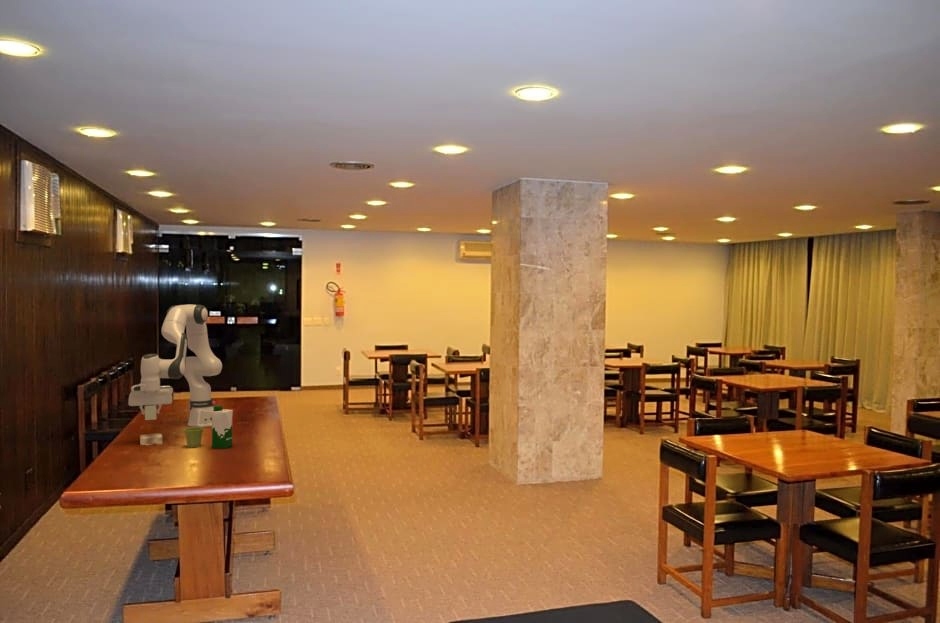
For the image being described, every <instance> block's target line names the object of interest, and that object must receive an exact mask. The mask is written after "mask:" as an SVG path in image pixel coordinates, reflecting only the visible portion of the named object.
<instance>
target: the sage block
mask: <svg viewBox="0 0 940 623" xmlns="http://www.w3.org/2000/svg"><path fill="white" fill-rule="evenodd" d="M144 410H145V414H144V420H145V421H151V420H152V421H153V420H154V421H155V420H157V414H156V410H157V405H144Z"/></svg>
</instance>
